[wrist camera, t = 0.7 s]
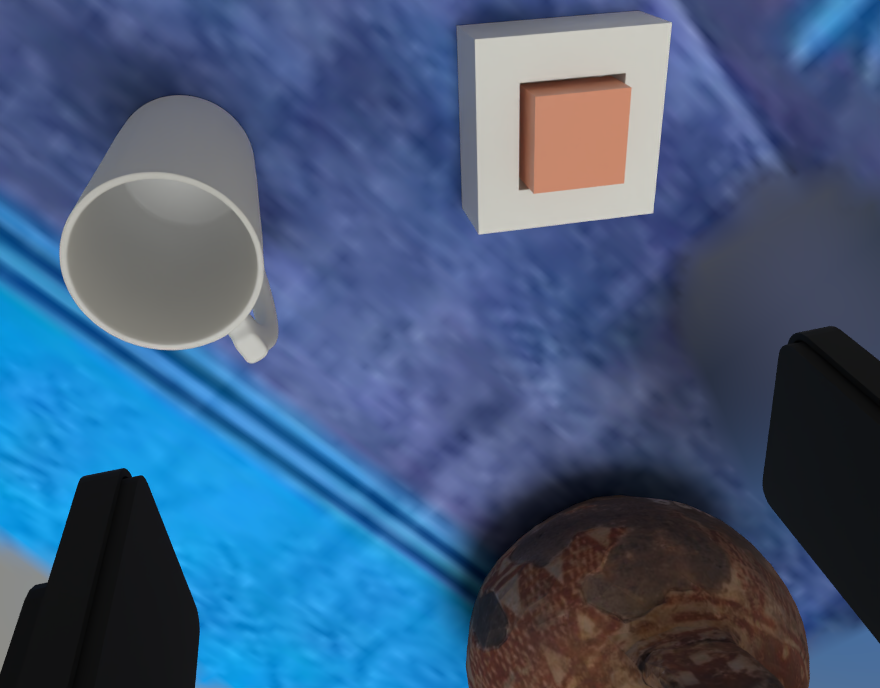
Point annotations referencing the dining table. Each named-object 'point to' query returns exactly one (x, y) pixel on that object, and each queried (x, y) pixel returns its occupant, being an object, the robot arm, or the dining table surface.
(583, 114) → the button
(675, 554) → the jug
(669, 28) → the button housing
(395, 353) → the dining table surface
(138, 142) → the mug
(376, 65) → the dining table surface
